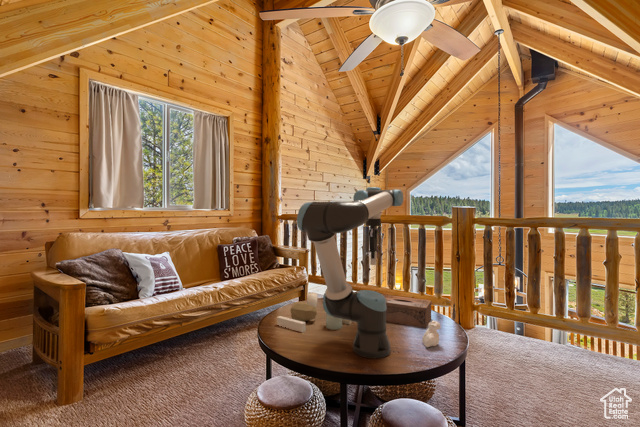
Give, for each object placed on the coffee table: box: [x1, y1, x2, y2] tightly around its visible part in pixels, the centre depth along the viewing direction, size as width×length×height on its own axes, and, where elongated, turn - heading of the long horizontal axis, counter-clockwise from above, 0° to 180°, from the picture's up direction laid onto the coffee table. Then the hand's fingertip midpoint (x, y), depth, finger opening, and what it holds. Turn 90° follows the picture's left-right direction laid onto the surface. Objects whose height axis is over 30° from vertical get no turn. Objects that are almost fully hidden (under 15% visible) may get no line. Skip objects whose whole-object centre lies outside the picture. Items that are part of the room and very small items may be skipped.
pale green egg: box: [325, 312, 343, 331], centre depth 157 cm, size 8×8×9 cm
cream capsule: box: [306, 292, 318, 308], centre depth 191 cm, size 6×6×7 cm
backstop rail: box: [276, 315, 307, 333], centre depth 155 cm, size 2×16×4 cm, turn 56°
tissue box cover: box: [382, 294, 432, 329], centre depth 168 cm, size 26×14×10 cm, turn 62°
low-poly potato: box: [290, 300, 318, 322], centre depth 165 cm, size 15×11×12 cm
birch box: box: [342, 319, 354, 325], centre depth 165 cm, size 8×6×5 cm
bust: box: [421, 320, 442, 348], centre depth 137 cm, size 12×8×11 cm
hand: (373, 264), depth 163 cm, fingers closed
